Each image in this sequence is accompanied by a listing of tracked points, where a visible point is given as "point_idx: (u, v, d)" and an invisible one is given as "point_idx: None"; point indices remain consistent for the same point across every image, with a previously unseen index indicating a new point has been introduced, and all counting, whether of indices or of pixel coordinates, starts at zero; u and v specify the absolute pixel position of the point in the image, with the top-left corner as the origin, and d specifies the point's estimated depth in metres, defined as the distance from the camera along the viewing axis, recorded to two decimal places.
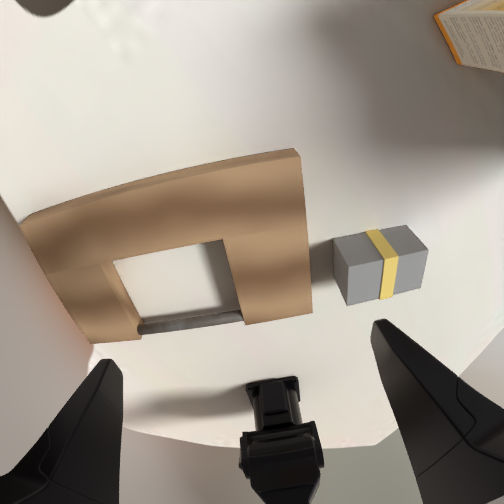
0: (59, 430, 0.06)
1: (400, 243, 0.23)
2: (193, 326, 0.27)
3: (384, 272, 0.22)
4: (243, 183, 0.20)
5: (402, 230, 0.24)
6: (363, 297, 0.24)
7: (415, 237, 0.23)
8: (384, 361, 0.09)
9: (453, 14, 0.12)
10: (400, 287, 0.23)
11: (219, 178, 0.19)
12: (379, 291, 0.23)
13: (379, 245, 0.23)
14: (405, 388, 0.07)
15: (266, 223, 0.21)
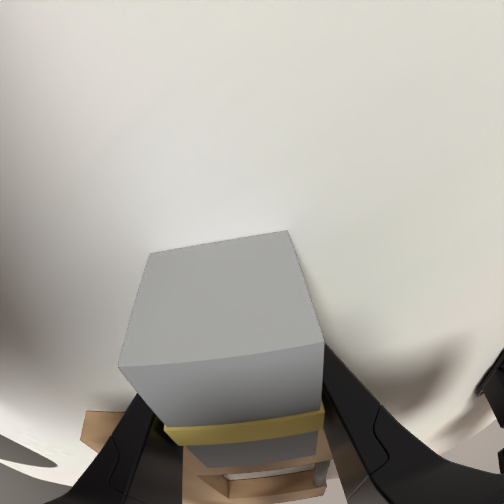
0: (127, 437, 0.06)
1: None
2: (321, 474, 0.18)
3: (221, 442, 0.08)
4: None
5: None
6: (300, 446, 0.08)
7: None
8: None
9: None
10: (293, 402, 0.07)
11: None
12: None
13: None
14: (326, 409, 0.07)
15: None
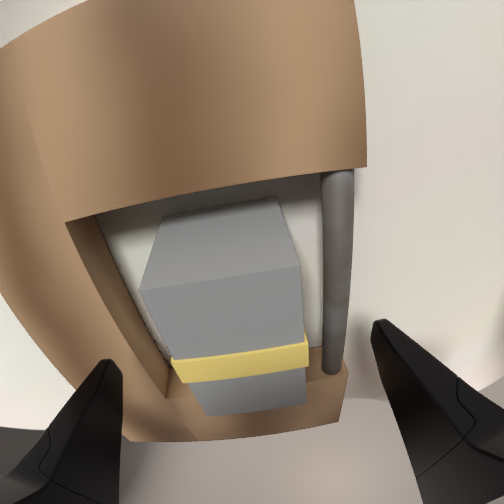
0: (59, 430, 0.06)
1: None
2: (339, 291, 0.11)
3: (220, 378, 0.09)
4: None
5: None
6: (291, 389, 0.10)
7: None
8: (384, 361, 0.09)
9: None
10: (280, 330, 0.08)
11: None
12: (280, 371, 0.10)
13: None
14: (405, 388, 0.07)
15: (16, 132, 0.06)
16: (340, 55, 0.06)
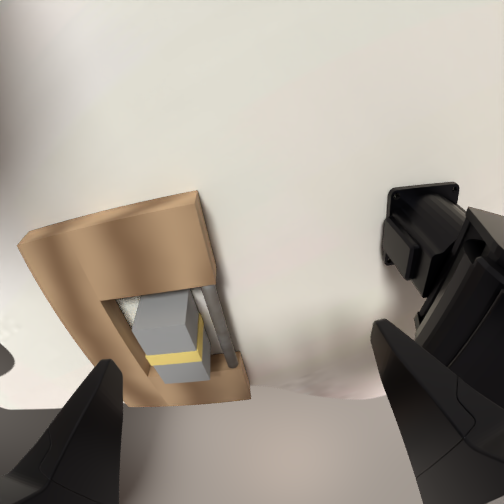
0: (59, 430, 0.06)
1: None
2: (219, 329, 0.23)
3: (165, 363, 0.22)
4: (49, 284, 0.20)
5: None
6: (199, 371, 0.23)
7: None
8: (384, 361, 0.09)
9: None
10: (185, 345, 0.21)
11: (52, 299, 0.21)
12: (190, 362, 0.22)
13: None
14: (405, 388, 0.07)
15: (75, 267, 0.19)
16: (196, 246, 0.19)
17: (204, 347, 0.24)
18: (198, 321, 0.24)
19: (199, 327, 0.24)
